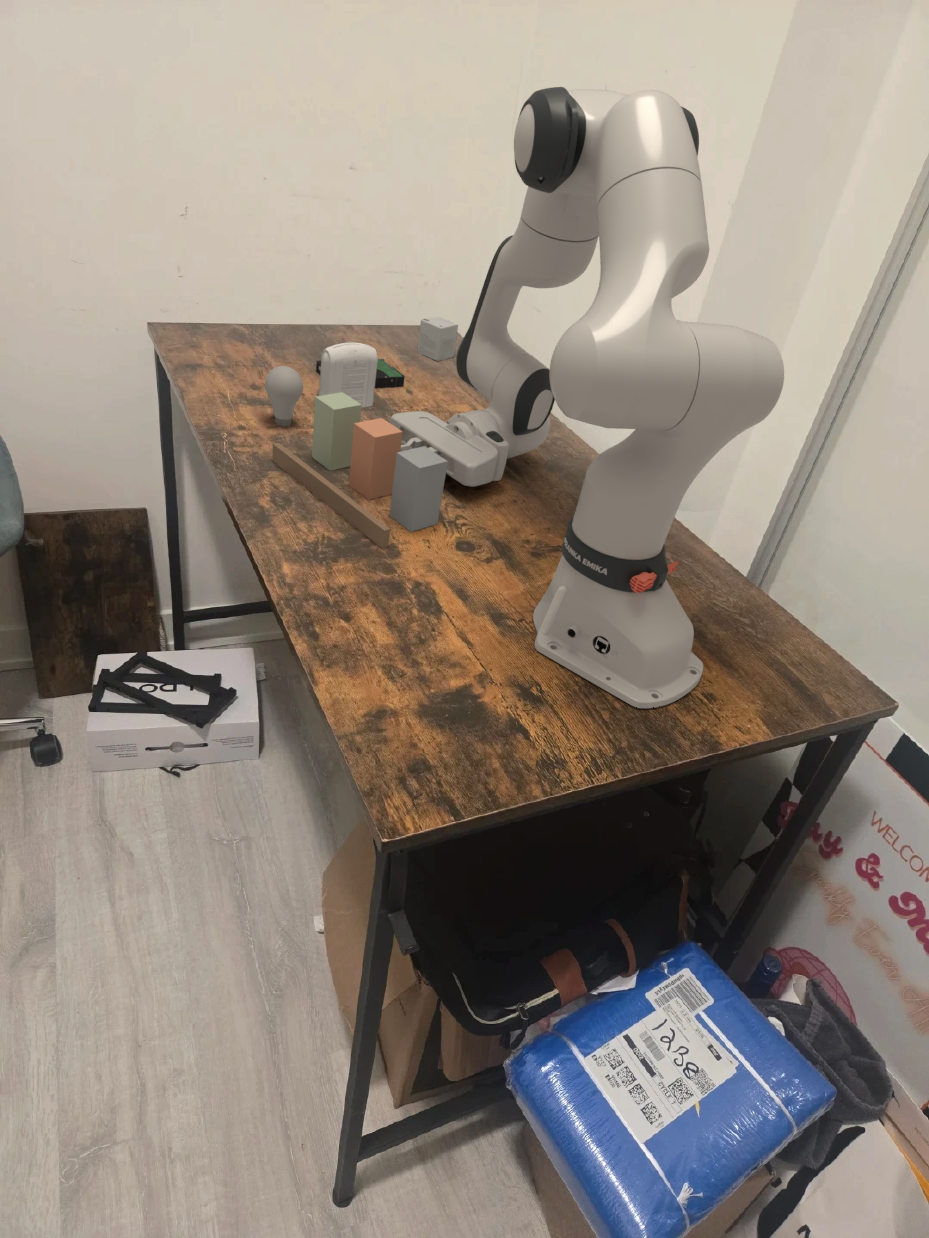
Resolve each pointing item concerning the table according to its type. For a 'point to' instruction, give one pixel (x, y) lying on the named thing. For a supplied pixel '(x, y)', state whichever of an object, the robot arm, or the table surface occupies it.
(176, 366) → the table surface
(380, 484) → the terracotta rectangular block
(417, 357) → the table surface
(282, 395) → the lightbulb
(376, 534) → the cream board with rail
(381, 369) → the disk drive
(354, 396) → the photo printer
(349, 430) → the sage green block
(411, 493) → the blue-grey block
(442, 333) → the skincare box
